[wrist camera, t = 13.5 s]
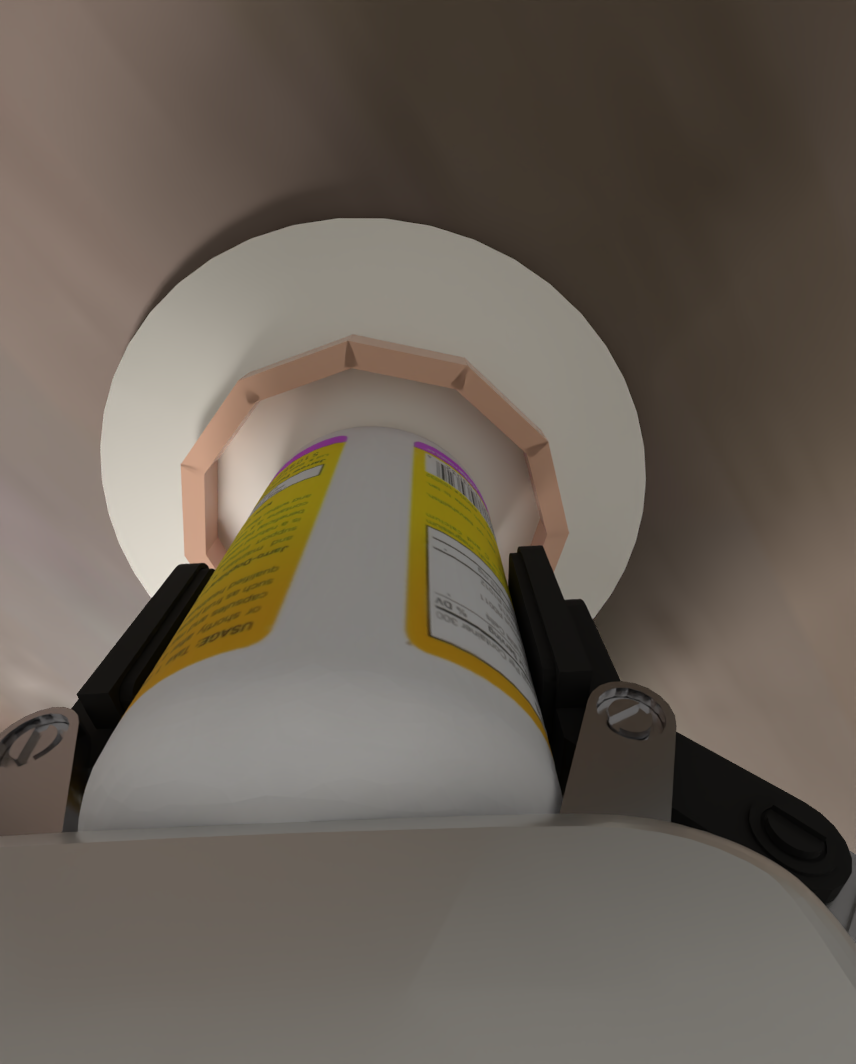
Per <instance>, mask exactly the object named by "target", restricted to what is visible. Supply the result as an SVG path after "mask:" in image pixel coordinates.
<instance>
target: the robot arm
mask: <svg viewBox="0 0 856 1064" xmlns="http://www.w3.org/2000/svg"><path fill="white" fill-rule="evenodd" d="M214 571H215V569H213V568H211V569H209V567H208V565H207V564H205V563H191V564H179V565H178V566H176V567H175V569H174V570H173V571H172V573H171V574H170V575H169V576H168V578H167V579H166V580H165V582H164V583H163V584H162V585H161V587H160V588H159V589H158V591H157V592H156V593H155V594H154V596H153V597H152V598H151V600H150V601H149V602H148V603H147V605H146V606H145V607H144V609H143V610H142V611H141V612H140V614H139V615H138V616H137V618H136V619H135V620H134V621H133V623H132V624H131V625H130V627H129V628H128V629H127V630H126V632H125V633H124V634H123V636H122V637H121V638H120V639H119V641H118V642H117V643H116V645H115V646H114V647H113V648H112V650H111V651H110V652H109V654H108V655H107V656H106V657H105V659H104V660H103V661H102V663H101V664H100V665H99V666H98V668H97V669H96V670H95V672H94V673H93V674H92V675H91V677H90V678H89V679H88V680H87V682H86V683H85V684H84V686H83V687H82V688H81V689H80V691H79V692H78V693H77V696H78V698H79V699H78V701H77V702H76V703H75V705H74V706H73V707H72V708H71V709H69V708H66V707H52V708H48V709H44V710H40V711H37V712H35V713H33V714H30V715H28V716H25V717H24V718H22V719H20V720H19V721H17V722H15V723H13V724H12V725H10V726H9V727H8V728H7V729H5V730H4V731H3V732H1V733H0V1064H856V854H854V853H852V852H851V851H849V849H848V846H847V844H846V842H845V840H844V839H843V837H842V836H841V835H840V833H839V832H838V830H837V829H836V828H835V826H834V825H833V824H832V823H830V822H829V821H828V820H827V819H826V818H825V817H824V816H823V815H822V814H821V813H820V812H818V811H817V810H815V809H814V808H812V807H811V806H809V805H808V804H806V803H805V802H803V801H801V800H800V799H798V798H796V797H794V796H792V795H790V794H789V793H787V792H785V791H783V790H781V789H780V788H778V787H776V786H774V785H772V784H770V783H769V782H767V781H765V780H763V779H761V778H760V777H758V776H756V775H754V774H752V773H750V772H749V771H747V770H745V769H743V768H741V767H740V766H738V765H736V764H734V763H732V762H730V761H729V760H727V759H725V758H723V757H721V756H719V755H718V754H716V753H714V752H712V751H710V750H709V749H707V748H705V747H703V746H701V745H699V744H698V743H696V742H694V741H692V740H690V739H689V738H687V737H685V736H683V735H681V734H679V733H678V732H676V720H675V715H674V713H673V711H672V709H671V708H670V706H669V704H668V703H667V702H666V701H665V700H664V699H663V698H662V697H661V696H660V695H658V694H656V693H655V692H653V691H652V690H650V689H648V688H646V687H643V686H641V685H638V684H636V683H630V682H624V681H620V679H619V677H618V674H617V672H616V670H615V668H614V666H613V663H612V661H611V659H610V657H609V655H608V652H607V650H606V648H605V646H604V644H603V641H602V639H601V637H600V635H599V633H598V630H597V628H596V626H595V624H594V621H593V619H592V617H591V615H590V613H589V610H588V608H587V606H586V604H585V602H584V601H583V600H582V599H567V600H564V597H563V595H562V592H561V590H560V587H559V585H558V582H557V580H556V577H555V575H554V572H553V570H552V567H551V565H550V562H549V560H548V557H547V555H546V552H545V550H544V547H543V546H542V545H538V546H519V547H518V549H517V553H510V554H509V571H508V588H509V592H510V596H511V599H512V603H513V607H514V611H515V615H516V619H517V623H518V627H519V631H520V634H521V638H522V642H523V646H524V650H525V654H526V658H527V662H528V666H529V670H530V673H531V677H532V681H533V685H534V688H535V692H536V696H537V699H538V704H539V707H540V710H541V714H542V718H543V722H544V726H545V729H546V731H547V736H548V741H549V744H550V748H551V752H552V755H553V759H554V763H555V769H556V773H557V777H558V781H559V785H560V788H561V793H562V798H563V801H562V805H561V809H560V813H559V814H520V815H475V816H447V817H418V818H389V819H361V820H335V821H310V822H287V823H261V824H236V825H212V826H189V827H167V828H145V829H124V830H102V831H80V832H78V820H79V814H80V809H81V804H82V800H83V796H84V792H85V788H86V785H87V783H88V780H89V777H90V774H91V772H92V769H93V767H94V765H95V763H96V761H97V760H98V758H99V756H100V754H101V752H102V751H103V749H104V747H105V745H106V744H107V742H108V740H109V738H110V737H111V735H112V733H113V731H114V730H115V728H116V727H117V725H118V723H119V722H120V720H121V718H122V717H123V715H124V713H125V712H126V710H127V709H128V707H129V706H130V704H131V703H132V701H133V700H134V698H135V696H136V695H137V693H138V692H139V690H140V689H141V687H142V686H143V684H144V683H145V681H146V680H147V678H148V676H149V675H150V673H151V672H152V670H153V669H154V667H155V666H156V664H157V662H158V661H159V659H160V658H161V656H162V654H163V653H164V651H165V650H166V648H167V647H168V645H169V643H170V642H171V640H172V639H173V637H174V635H175V634H176V632H177V631H178V629H179V627H180V626H181V624H182V623H183V621H184V619H185V618H186V616H187V614H188V613H189V611H190V610H191V608H192V607H193V605H194V603H195V602H196V600H197V599H198V597H199V595H200V594H201V592H202V591H203V589H204V588H205V586H206V584H207V583H208V581H209V580H210V578H211V576H212V575H213V573H214Z"/></svg>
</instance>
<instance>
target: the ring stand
mask: <svg viewBox="0 0 856 1064" xmlns="http://www.w3.org/2000/svg"><path fill="white" fill-rule="evenodd" d="M363 426H379V427H389V428H395V429H400V430H404V431H407V432H411V433H414V434H416V435H419V436H421V437H424V438H426V439H428V440H430V441H432V442H434V443H435V444H437V445H439V446H440V447H442V448H443V449H444V450H446V451H447V452H449V453H450V454H451V455H452V456H453V457H454V458H455V459H456V460H458V461H459V462H460V463H461V464H462V466H463V467H464V468H465V469H466V470H467V471H468V473H469V474H470V475H471V476H472V478H473V480H474V481H475V483H476V484H477V486H478V488H479V490H480V492H481V494H482V496H483V499H484V502H485V504H486V506H487V509H488V512H489V515H490V518H491V522H492V526H493V530H494V534H495V537H496V541H497V545H498V549H499V553H500V556H501V561H502V565H503V568H504V572H505V576H506V580H507V584H508V571H509V554H510V553H517V549H518V547H519V546H538V545H542V546H543V547H544V550H545V552H546V555H547V557H548V560H549V562H550V565H551V567H552V570H553V572H554V575H555V577H556V580H557V582H558V585H559V587H560V590H561V592H562V595H563V597H564V600H567V599H582V600H583V601H584V602H585V604H586V606H587V608H588V610H589V613H590V615H591V617H592V619H594V617H595V616H596V614H597V613H598V612H599V610H600V609H601V608H602V606H603V605H604V604H605V602H606V601H607V600H608V598H609V597H610V595H611V594H612V592H613V590H614V588H615V587H616V585H617V583H618V581H619V579H620V578H621V576H622V574H623V572H624V570H625V568H626V565H627V563H628V560H629V558H630V555H631V553H632V550H633V548H634V545H635V543H636V539H637V535H638V530H639V526H640V522H641V518H642V514H643V506H644V495H645V485H646V473H645V454H644V444H643V439H642V434H641V429H640V425H639V420H638V415H637V411H636V409H635V406H634V403H633V401H632V398H631V395H630V393H629V390H628V387H627V384H626V382H625V379H624V377H623V375H622V374H621V372H620V370H619V368H618V366H617V365H616V363H615V361H614V359H613V357H612V356H611V354H610V352H609V350H608V348H607V347H606V345H605V344H604V342H603V341H602V340H601V338H600V337H599V336H598V335H597V333H596V332H595V331H594V329H593V328H592V327H591V326H590V324H589V323H588V322H587V320H586V319H585V318H584V317H583V315H582V314H581V313H580V312H579V311H578V310H577V309H576V308H575V307H574V306H573V305H572V304H571V303H570V302H568V301H567V300H566V299H565V298H564V297H563V296H562V295H561V294H560V293H559V292H558V291H557V290H556V289H555V288H554V287H553V286H552V285H551V284H549V283H548V282H546V281H545V280H543V279H542V278H540V277H539V276H538V275H536V274H535V273H533V272H532V271H530V270H529V269H528V268H526V267H525V266H523V265H522V264H520V263H519V262H518V261H516V260H515V259H513V258H511V257H509V256H507V255H504V254H502V253H500V252H498V251H496V250H494V249H492V248H490V247H488V246H486V245H484V244H482V243H480V242H478V241H476V240H474V239H471V238H468V237H464V236H461V235H458V234H455V233H452V232H449V231H446V230H442V229H439V228H436V227H433V226H429V225H423V224H417V223H410V222H404V221H398V220H391V219H385V218H337V219H330V220H324V221H317V222H310V223H304V224H297V225H292V226H289V227H286V228H283V229H279V230H276V231H273V232H270V233H267V234H264V235H261V236H258V237H254V238H251V239H249V240H247V241H245V242H243V243H241V244H239V245H237V246H235V247H233V248H231V249H229V250H227V251H225V252H224V253H222V254H220V255H218V256H216V257H214V258H212V259H210V260H209V261H208V262H206V263H205V264H204V265H202V266H201V267H200V268H198V269H197V270H196V271H194V272H193V273H191V274H190V275H189V276H187V277H186V278H185V279H183V280H182V281H181V282H179V283H178V284H177V285H176V286H175V287H174V288H173V289H172V290H171V291H170V292H169V293H168V294H167V295H166V296H165V298H164V299H163V300H162V301H161V302H160V303H159V304H158V305H157V306H156V307H155V308H154V309H153V310H152V311H151V312H150V313H149V315H148V316H147V318H146V319H145V321H144V322H143V324H142V325H141V327H140V328H139V330H138V331H137V333H136V334H135V336H134V337H133V338H132V340H131V341H130V343H129V344H128V347H127V349H126V351H125V353H124V355H123V358H122V360H121V362H120V364H119V366H118V368H117V371H116V373H115V375H114V377H113V380H112V384H111V388H110V392H109V395H108V399H107V403H106V406H105V410H104V416H103V425H102V435H101V445H100V451H101V471H102V483H103V488H104V493H105V498H106V503H107V508H108V513H109V516H110V519H111V521H112V524H113V527H114V530H115V533H116V536H117V539H118V541H119V544H120V546H121V548H122V550H123V552H124V554H125V556H126V558H127V560H128V562H129V564H130V566H131V568H132V570H133V572H134V573H135V575H136V576H137V578H138V579H139V580H140V582H141V583H142V585H143V586H144V588H145V589H146V591H147V592H148V594H149V595H150V597H151V598H152V597H153V596H154V594H155V593H156V592H157V591H158V589H159V588H160V587H161V585H162V584H163V583H164V582H165V580H166V579H167V578H168V576H169V575H170V574H171V573H172V571H173V570H174V569H175V567H176V566H178V565H179V564H191V563H205V564H207V565H208V567H209V569H211V568H213V569H215V570H216V568H217V567H218V565H219V563H220V562H221V560H222V559H223V557H224V555H225V554H226V552H227V551H228V549H229V547H230V546H231V544H232V543H233V541H234V539H235V538H236V536H237V534H238V533H239V531H240V530H241V528H242V526H243V525H244V524H245V522H246V520H247V519H248V517H249V516H250V514H251V512H252V510H253V509H254V507H255V506H256V504H257V502H258V501H259V499H260V498H261V496H262V495H263V493H264V492H265V490H266V488H267V487H268V485H269V484H270V482H271V481H272V479H273V478H274V476H275V475H276V474H277V472H278V471H279V470H280V468H281V467H282V466H283V464H284V463H285V462H286V461H287V460H288V459H289V458H290V457H291V456H292V455H294V454H295V453H296V452H297V451H298V450H299V449H301V448H302V447H304V446H305V445H307V444H309V443H310V442H312V441H314V440H315V439H317V438H320V437H322V436H324V435H327V434H329V433H332V432H335V431H339V430H344V429H348V428H353V427H363Z"/></svg>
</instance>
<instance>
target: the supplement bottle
mask: <svg viewBox="0 0 856 1064" xmlns="http://www.w3.org/2000/svg"><path fill="white" fill-rule="evenodd" d="M562 801H563V798H562V793H561V788H560V785H559V781H558V777H557V773H556V769H555V763H554V759H553V755H552V752H551V748H550V744H549V741H548V736H547V731H546V729H545V726H544V722H543V718H542V714H541V710H540V707H539V704H538V699H537V696H536V692H535V688H534V685H533V681H532V677H531V673H530V670H529V666H528V662H527V658H526V654H525V650H524V646H523V642H522V638H521V634H520V631H519V627H518V623H517V619H516V615H515V611H514V607H513V603H512V599H511V596H510V592H509V588H508V584H507V580H506V576H505V572H504V568H503V565H502V561H501V556H500V553H499V549H498V545H497V541H496V537H495V534H494V530H493V526H492V522H491V518H490V515H489V512H488V509H487V506H486V504H485V502H484V499H483V496H482V494H481V492H480V490H479V488H478V486H477V484H476V483H475V481H474V480H473V478H472V476H471V475H470V474H469V473H468V471H467V470H466V469H465V468H464V467H463V466H462V464H461V463H460V462H459V461H458V460H456V459H455V458H454V457H453V456H452V455H451V454H450V453H449V452H447V451H446V450H444V449H443V448H442V447H440V446H439V445H437V444H435V443H434V442H432V441H430V440H428V439H426V438H424V437H421V436H419V435H416V434H414V433H411V432H407V431H404V430H400V429H395V428H389V427H379V426H363V427H353V428H348V429H344V430H339V431H335V432H332V433H329V434H327V435H324V436H322V437H320V438H317V439H315V440H314V441H312V442H310V443H309V444H307V445H305V446H304V447H302V448H301V449H299V450H298V451H297V452H296V453H295V454H294V455H292V456H291V457H290V458H289V459H288V460H287V461H286V462H285V463H284V464H283V466H282V467H281V468H280V470H279V471H278V472H277V474H276V475H275V476H274V478H273V479H272V481H271V482H270V484H269V485H268V487H267V488H266V490H265V492H264V493H263V495H262V496H261V498H260V499H259V501H258V502H257V504H256V506H255V507H254V509H253V510H252V512H251V514H250V516H249V517H248V519H247V520H246V522H245V524H244V525H243V526H242V528H241V530H240V531H239V533H238V534H237V536H236V538H235V539H234V541H233V543H232V544H231V546H230V547H229V549H228V551H227V552H226V554H225V555H224V557H223V559H222V560H221V562H220V563H219V565H218V567H217V568H216V570H215V571H214V573H213V575H212V576H211V578H210V580H209V581H208V583H207V584H206V586H205V588H204V589H203V591H202V592H201V594H200V595H199V597H198V599H197V600H196V602H195V603H194V605H193V607H192V608H191V610H190V611H189V613H188V614H187V616H186V618H185V619H184V621H183V623H182V624H181V626H180V627H179V629H178V631H177V632H176V634H175V635H174V637H173V639H172V640H171V642H170V643H169V645H168V647H167V648H166V650H165V651H164V653H163V654H162V656H161V658H160V659H159V661H158V662H157V664H156V666H155V667H154V669H153V670H152V672H151V673H150V675H149V676H148V678H147V680H146V681H145V683H144V684H143V686H142V687H141V689H140V690H139V692H138V693H137V695H136V696H135V698H134V700H133V701H132V703H131V704H130V706H129V707H128V709H127V710H126V712H125V713H124V715H123V717H122V718H121V720H120V722H119V723H118V725H117V727H116V728H115V730H114V731H113V733H112V735H111V737H110V738H109V740H108V742H107V744H106V745H105V747H104V749H103V751H102V752H101V754H100V756H99V758H98V760H97V761H96V763H95V765H94V767H93V769H92V772H91V774H90V777H89V780H88V783H87V785H86V788H85V792H84V796H83V800H82V804H81V809H80V814H79V820H78V832H80V831H102V830H124V829H145V828H167V827H189V826H212V825H236V824H261V823H287V822H310V821H335V820H361V819H389V818H418V817H447V816H475V815H520V814H559V813H560V809H561V805H562Z"/></svg>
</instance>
